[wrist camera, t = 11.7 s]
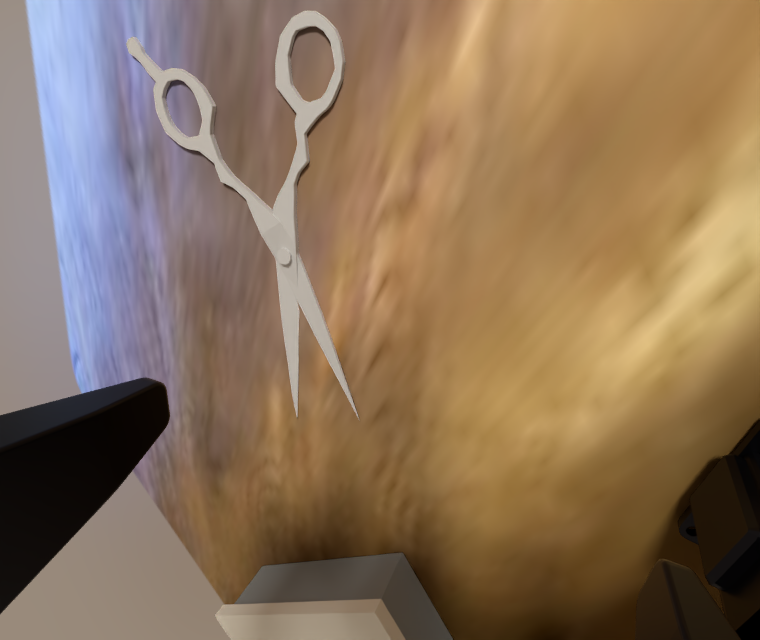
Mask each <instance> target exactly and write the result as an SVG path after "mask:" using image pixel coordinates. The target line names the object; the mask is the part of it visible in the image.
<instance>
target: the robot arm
mask: <svg viewBox="0 0 760 640" xmlns="http://www.w3.org/2000/svg"><path fill="white" fill-rule="evenodd" d="M169 419H170V412H169V404H168V396H167V389H166V386H165V385H164V384H163V383H162V382H159V381H156V380H153V379H150V378H140V379H136V380H132V381H128V382H124V383H121V384H117V385H113V386H109V387H106V388H102V389H98V390H94V391H90V392H87V393H83V394H79V395H75V396H72V397H68V398H64V399H60V400H56V401H53V402H49V403H45V404H41V405H38V406H34V407H30V408H26V409H22V410H19V411H15V412H11V413H7V414H4V415H0V614H1V613H2V612H3V611H4V610H5V609H6V608H7V606H8V605H9V604H10V603H11V602H12V601H13V600H14V599H15V598H16V597H17V596H18V595H19V594H20V593H21V592H22V591H23V590H24V588H25V587H26V586H27V585H28V584H29V583H30V582H31V581H32V580H33V579H34V578H35V577H36V576H37V575H38V574H39V572H40V571H41V570H42V569H43V568H44V567H45V566H46V565H47V564H48V563H49V562H50V561H51V560H52V558H54V556H55V555H56V554H57V553H58V552H59V551H60V550H61V549H62V548H63V547H64V546H65V545H66V544H67V543H68V542H69V540H70V539H71V538H72V537H73V536H74V535H75V534H76V533H77V532H78V531H79V530H80V529H81V528H82V527H83V526H84V525H85V523H87V521H88V520H89V519H90V518H91V517H92V516H93V515H94V514H95V513H96V512H97V511H98V510H99V509H100V508H101V507H102V505H103V504H104V503H105V502H106V501H107V500H108V499H109V498H110V497H111V496H112V495H113V493H114V492H115V491H116V490H117V489H118V488H119V487H120V485H121V484H122V483H123V482H124V480H125V479H126V478H127V477H128V475H129V474H130V473H131V472H132V470H133V469H134V468H135V466H136V465H137V464H138V463H139V461H140V460H141V459H142V458H143V456H144V455H145V454H146V452H147V451H148V450H149V449H150V447H151V446H152V445H153V444H154V442H155V441H156V440H157V438H158V437H159V436H160V435H161V433H162V432H163V431H164V429H165V428H166V426H167V425H168V422H169ZM690 503H691V505H690V506H689V507H688V508H687V510H686V511H685V512H684V513H683V515H682V516H681V517H680V518H679V520H678V526H679V532H680V534H681V535H682V536H683V537H684V538H686V539H688V540H690V541H692V542H694V543H696V544H698V545H699V549H700V554H701V559H702V564H703V569H704V574H705V576H706V579H707V581H708V583H709V584H710V585H712V586H714V587H716V588H718V589H719V592H720V597H721V601H722V606H723V611H724V614H723V613H722V611H721V610H720V608H719V607H718V605H717V604H716V603H715V601H714V600H713V598H712V597H711V595H710V594H709V592H708V591H707V590H706V588H705V587H704V585H703V584H702V582H701V581H700V580H699V578H698V577H697V575H696V574H695V573H694V572H693V571H692V570H691V569H690V568H689V567H687V566H684V565H681V564H678V563H675V562H673V561H670V560H667V559H659V560H658V561H657V562H656V563H655V565H654V567H653V568H652V570H651V572H650V574H649V576H648V577H647V579H646V581H645V583H644V585H643V587H642V588H641V590H640V592H639V595H638V600H637V607H636V633H635V640H760V420H759V422H758V423H757V424H756V425H755V427H754V428H753V429H752V430H751V431H750V433H749V434H748V435H747V436H746V438H745V439H744V440H743V441H742V442H741V444H740V445H739V446H738V447H737V449H736V450H735V451H734V452H733V453H732V454H728V455H725V456H723V457H722V459H721V460H720V461H719V462H718V463H717V465H716V466H715V467H714V468H713V470H712V471H711V472H710V473H709V475H708V476H707V477H706V478H705V480H704V481H703V482H702V483H701V484H700V486H699V487H698V488H697V489H696V491H695V492H694V493H693V494H692V496H691V497H690ZM691 526H694V527H695V528H696V529H689V528H688V527H691ZM724 615H725V616H724Z"/></svg>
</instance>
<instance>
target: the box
mask: <svg viewBox="0 0 760 640" xmlns="http://www.w3.org/2000/svg"><path fill="white" fill-rule="evenodd" d="M215 617H216V619H217V620H218V622H219V623H220V624H221V626H222V627H223V629H224V630H225V632H226V633H227V635H228V636H229V637H230V639H231V640H453V638H452V637H451V635H450V633H449V632H448V630H447V628H446V626H445V625H444V623H443V621H442V619H441V618H440V616H439V614H438V613H437V611H436V609H435V607H434V606H433V604H432V602H431V601H430V599H429V597H428V595H427V594H426V592H425V590H424V588H423V587H422V585H421V583H420V582H419V580H418V578H417V576H416V575H415V573H414V571H413V569H412V568H411V566H410V564H409V563H408V561H407V559H406V557H405V556H404V554H403V552H402V553H392V554H382V555H371V556H361V557H351V558H340V559H330V560H319V561H309V562H299V563H288V564H278V565H268V566H262V567H261V569H260V570H259V571H258V573H257V574H256V575H255V577H254V578H253V579H252V581H251V582H250V583H249V585H248V586H247V587H246V589H245V590H244V592H243V593H242V594H241V596H240V597H239V598H238V600H237V601H236V602H235V604H231V605H222V607H221V608H220V609H219V611H218V612H217V613H216V615H215Z"/></svg>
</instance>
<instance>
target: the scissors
mask: <svg viewBox="0 0 760 640" xmlns="http://www.w3.org/2000/svg"><path fill="white" fill-rule="evenodd" d="M308 27H318V28H320V29H321V30H323V31H324V33H325V34H326V36H327V37H328V39H329V40H330V42H331V47H332V51H333V58H334V65H335V71H334V73H333V76H332V78H331V81H330V83H329V85H328V88H327V90H326V92H325V93H324V95H323V96H322V98H320V99H317V100H315V101H312V102H308V101H305V100H303V99H302V97H301V96H300V94H299V93H298V91H297V90H296V88H295V87H294V85H293V79H292V69H291V57H290V55H291V51H292V47H293V44H294V40H295V36H296V35H297V33H298V31H300V30H303V29H306V28H308ZM126 45H127V48H128V51H129V53H130V54H131V55H133V56H134V57H135V58H136V59H137V60H138V61H139V62H140V63H141V64H142V65H143V67H144V68H145V69H146V71H147V72H148V74H149V75H150V76H151V77H152V78H153V79H154V80H155V82H156V84H155V86H154V89H153V92H154V99H155V106H156V112H157V114H158V116H159V119H160V121H161V123H162V126H163V128H164V130H165V132H166V133H167V134H168V135H169V136H170V137H171V138H172V139H173V140H174V141H176V142H177V143H178V144H179V145H181V146H183V147H185V148H187V149H190V150H196V151H200V152H201V153H202V154H203V155H205V156H206V157H207V158H208V159H209V160H211V161H212V162H213V163H214V164H215V167H216V170H217V173H218V176H219V178H220V181H221V182H222V183H225V184H227V185H229V186H231V187H233V188H234V189H235V190H236V191H237V192H238V193H240V194H241V195H242V196H243V197H244V198H245V199H246V201H247V203H248V206H249V208H250V211H251V213H252V216H253V218H254V220H255V222H256V225H257V227H258V229H259V231H260V234H261V236H262V237H263V239H264V240H265V242H266V244H267V245H268V247H269V249H270V250H271V252H272V254H273V255H274V257H275V259H276V267H277V278H278V288H279V298H280V309H281V318H282V326H283V333H284V341H285V347H286V354H287V360H288V368H289V375H290V383H291V391H292V396H293V401H294V406H295V411H296V415H297V414H298V366H299V357H298V334H299V307H298V303H299V305H300V307H301V309H302V311H303V313H304V315H305V317H306V319H307V321H308V323H309V325H310V327H311V329H312V331H313V332H314V334H315V336H316V338H317V340H318V342H319V344H320V346H321V348H322V350H323V352H324V354H325V356H326V358H327V360H328V361H329V363H330V365H331V367H332V369H333V371H334V373H335V375H336V377H337V378H338V380H339V382H340V384H341V386H342V388H343V390H344V392H345V394H346V396H347V397H348V399H349V401H350V403H351V405H352V407H353V409H354V411H355V413H356V415H357V416H358V414H357V411H356V408H355V405H354V402H353V399H352V396H351V394H350V391H349V388H348V385H347V382H346V379H345V376H344V373H343V370H342V367H341V364H340V361H339V358H338V355H337V352H336V349H335V346H334V344H333V341H332V338H331V335H330V332H329V329H328V327H327V324H326V321H325V318H324V316H323V313H322V310H321V308H320V305H319V303H318V300H317V297H316V295H315V292H314V290H313V287H312V285H311V282H310V279H309V277H308V274H307V272H306V269H305V266H304V264H303V262H302V259H301V257H300V255H299V239H298V224H297V182H298V179H299V176H300V173H301V171H302V170H303V169H304V168H305V167H306V165H307V164H308V163H309V162H310V157H309V147H308V138H307V133H308V132H309V130H310V129H311V127H312V126H313V125H314V124H315V122H316V121H317V120H318V119H319V117H320V116H321V115H322V114H323V113H325V112H326V111H327V110H328V109H329V108H330V107H331V105H332V104H333V103H334V101H335V98H336V96H337V94H338V92H339V89H340V87H341V84H342V82H343V77H344V70H345V57H344V50H343V44H342V40H341V38H340V36H339V33H338V31H337V29H336V28H335V27H334V25H333V24H332V23H331V22H330V21H329V20H328V19H327V18H326V17H324V16H323V15H321V14H320V13H319V12H317V11H304V12H302V13H300V14H298V15H296V16H294V17H292V18H291V20H290V21H289V23H288V24H287V26H286V27H285V29H284V30H283V32H282V33H281V35H280V39H279V45H278V50H277V56H276V61H275V69H276V87H277V88H278V90H279V91H280V92H281V94H282V95H283V96H284V98H285V99H286V100H287V102H288V103H289V104H290V106H291V107H292V108H293V110H294V111H295V112H296V114H297V115H296V119H295V129H296V135H297V142H298V144H297V148H296V151H295V155H294V159H293V162H292V165H291V168H290V171H289V174H288V176H287V179H286V181H285V183H284V185H283V187H282V189H281V190H280V192H279V194H278V196H277V199H276V202H275V204H274V207H273V210H272V209H271V208H270V207H269V206H268V205H267V204H266V203H265V202H263V201H262V200H261V199H260V198H259V197H258V196H257V195H256V194H255V193H254V192H253V191H251V190H250V189H249V188H248V187H247V186H246V185H245V184H243V183H242V182H241V181H240V180H239V179H238V178H237V177H236V176H235V175H234V174H233V173H232V172H231V170H230V169H229V167H228V166H227V165H226V163H225V162H224V161H223V159H222V156H221V153H220V150H219V148H218V145H217V142H216V139H215V136H214V121H215V114H216V105H215V103H214V101H213V99H212V97H211V96H210V94H209V92H208V91H207V89H206V87H205V86H204V85H203V84H202V83H201V82H200V81H199V80H198V79H197V78H196V77H194V76H193V75H191V74H190V73H188V72H187V71H185V70H184V69H176V68H170V69H167V70H165V71H162V70H161V69H160V68H159V67H158V66H157V65H156V63H155V62H154V61H153V60H152V59H151V58H150V57H149V56H148V55H147V54H146V52H145V50H144V47H143V46H142V45H141V43H140V42H139V40H138V39H137V37H131V38H130V39H128V41H127V43H126ZM176 80H181V81H184V82H185V83H186V84H187V85H188V86H189V87H190V88H191V90H192V91H193V93H194V94H195V97H196V99H197V102H198V104H199V107H200V111H201V116H202V120H203V121H202V125H201V129H200V133H199V136H195V137H190V138H189V137H187V136H186V135H184V134H183V133H182V132H181V131H180V130H179V129H178V128H177V127H176V126H175V124H174V122H173V121H172V118H171V116H170V113H169V110H168V107H167V102H166V93H167V89H168V87H169V85H170V83H171V81H176ZM297 301H298V303H297ZM358 418H359V417H358Z"/></svg>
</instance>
